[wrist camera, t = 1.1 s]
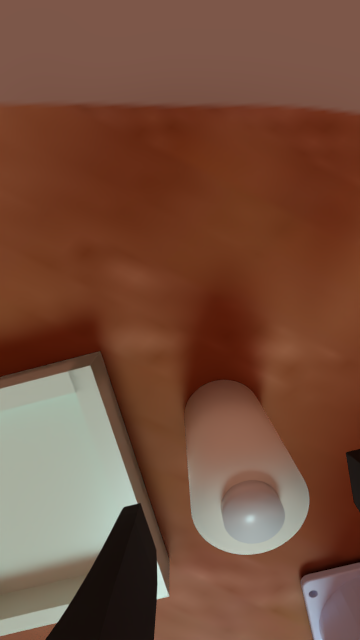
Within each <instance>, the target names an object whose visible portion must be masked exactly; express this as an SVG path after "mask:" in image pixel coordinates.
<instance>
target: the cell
mask: <svg viewBox="0 0 360 640" xmlns="http://www.w3.org/2000/svg"><path fill="white" fill-rule="evenodd" d="M184 423H185V436H186V449H187V462H188V475H189V488H190V501H191V514H192V518H193V521H194V524H195V526H196V528H197V530H198V532H199V533H200V534H201V535H202V537H203V538H204V539H205V540H206V541H207V542H209V543H210V544H212V545H213V546H215V547H217V548H218V549H221V550H223V551H226V552H230V553H234V554H244V555H249V554H258V553H263V552H266V551H270V550H272V549H274V548H277V547H278V546H280V545H282V544H284V543H285V542H287V541H288V540H289V539H290V538H291V537H293V536H294V535H295V534H296V532H297V531H298V530H299V529H300V527H301V526H302V524H303V522H304V520H305V518H306V516H307V513H308V508H309V492H308V488H307V485H306V483H305V481H304V479H303V477H302V475H301V473H300V472H299V470H298V468H297V467H296V465H295V463H294V461H293V460H292V458H291V456H290V454H289V453H288V451H287V449H286V447H285V446H284V444H283V442H282V440H281V439H280V437H279V435H278V433H277V432H276V430H275V428H274V427H273V425H272V423H271V421H270V420H269V418H268V416H267V414H266V413H265V411H264V409H263V407H262V406H261V404H260V402H259V400H258V399H257V397H256V396H255V394H254V393H253V392H252V391H251V390H250V389H249V388H248V387H247V386H245V385H243V384H241V383H239V382H236V381H232V380H216V381H212V382H209V383H207V384H205V385H203V386H201V387H200V388H198V389H197V390H196V391H195V392H194V393H193V394H192V395H191V397H190V398H189V400H188V402H187V404H186V407H185V411H184Z"/></svg>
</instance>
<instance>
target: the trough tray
mask: <svg viewBox="0 0 360 640" xmlns="http://www.w3.org/2000/svg"><path fill="white" fill-rule="evenodd" d="M138 503H141V506H142V509H143V512H144V515H145V518H146V520H147V523H148V526H149V529H150V532H151V535H152V538H153V541H154V544H155V547H156V550H157V584H158V586H157V599H160V598H164V597H169V557H168V554H167V551H166V548H165V545H164V542H163V539H162V536H161V533H160V530H159V527H158V524H157V521H156V518H155V515H154V512H153V509H152V506H151V503H150V500H149V497H148V494H147V491H146V488H145V485H144V482H143V479H142V475H141V472H140V469H139V466H138V463H137V460H136V457H135V454H134V451H133V448H132V445H131V442H130V439H129V436H128V433H127V430H126V427H125V424H124V421H123V418H122V415H121V412H120V409H119V406H118V403H117V400H116V397H115V394H114V391H113V388H112V385H111V382H110V379H109V376H108V373H107V370H106V367H105V364H104V361H103V358H102V355H101V352H100V351H99V352H95V353H91V354H87V355H83V356H79V357H75V358H72V359H68V360H64V361H60V362H56V363H52V364H48V365H45V366H41V367H37V368H33V369H29V370H25V371H21V372H18V373H14V374H10V375H6V376H2V377H0V636H2V635H7V634H11V633H15V632H19V631H24V630H28V629H32V628H37V627H41V626H45V625H49V624H54V623H57V622H58V621H59V619H60V618H61V616H62V615H63V613H64V612H65V610H66V609H67V607H68V606H69V604H70V603H71V601H72V599H73V598H74V596H75V594H76V593H77V591H78V589H79V588H80V586H81V584H82V583H83V581H84V579H85V578H86V576H87V574H88V573H89V571H90V569H91V567H92V565H93V564H94V562H95V560H96V558H97V556H98V555H99V553H100V551H101V549H102V547H103V545H104V543H105V541H106V540H107V538H108V536H109V534H110V532H111V530H112V528H113V526H114V524H115V522H116V520H117V518H118V516H119V514H120V512H121V510H122V509H123V507H126V506H130V505H134V504H138Z"/></svg>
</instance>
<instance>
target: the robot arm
mask: <svg viewBox="0 0 360 640" xmlns="http://www.w3.org/2000/svg"><path fill="white" fill-rule="evenodd" d="M346 457H347V463H348V469H349V475H350V481H351V487H352V493H353V499H354V503H355V505H356V507H357V508H358V510H359V512H360V449H358V450H354V451H350V452H346ZM157 586H158V584H157V550H156V547H155V544H154V541H153V538H152V535H151V532H150V529H149V526H148V523H147V520H146V518H145V515H144V512H143V509H142V506H141V503H138V504H134V505H130V506H126V507H123V509H122V510H121V512H120V514H119V516H118V518H117V520H116V522H115V524H114V526H113V528H112V530H111V532H110V534H109V536H108V538H107V540H106V541H105V543H104V545H103V547H102V549H101V551H100V553H99V555H98V556H97V558H96V560H95V562H94V564H93V565H92V567H91V569H90V571H89V573H88V574H87V576H86V578H85V579H84V581H83V583H82V584H81V586H80V588H79V589H78V591H77V593H76V594H75V596H74V598H73V599H72V601H71V603H70V604H69V606H68V607H67V609H66V610H65V612H64V613H63V615H62V616H61V618H60V619H59V621H58V622H57V624H56V625H55V627H54V628H53V630H52V631H51V633H50V634H49V635H48V637H47V638H46V640H154V629H155V616H156V601H157ZM301 586H302V591H303V595H304V600H305V604H306V609H307V613H308V618H309V622H310V627H311V631H312V636H313V640H360V562H359V563H355V564H350V565H346V566H342V567H337V568H333V569H329V570H325V571H320V572H316V573H312V574H307V575H305V576H304V577H303V578H302V579H301Z"/></svg>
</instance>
